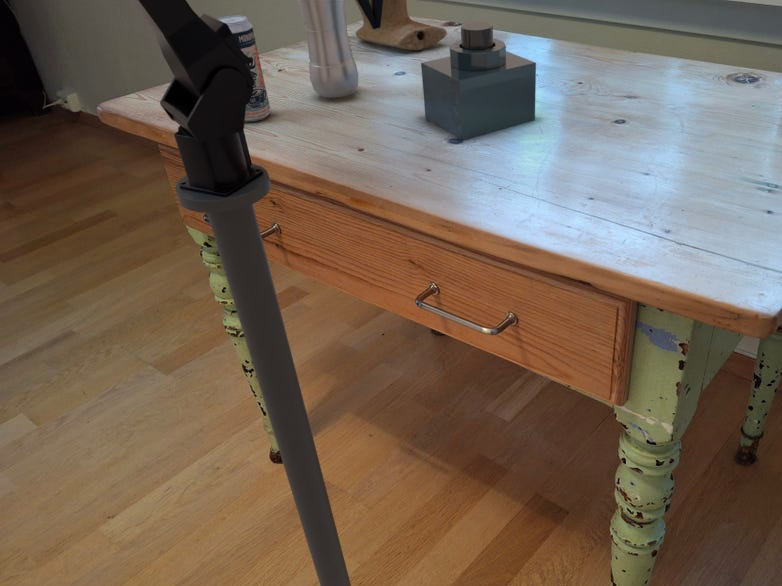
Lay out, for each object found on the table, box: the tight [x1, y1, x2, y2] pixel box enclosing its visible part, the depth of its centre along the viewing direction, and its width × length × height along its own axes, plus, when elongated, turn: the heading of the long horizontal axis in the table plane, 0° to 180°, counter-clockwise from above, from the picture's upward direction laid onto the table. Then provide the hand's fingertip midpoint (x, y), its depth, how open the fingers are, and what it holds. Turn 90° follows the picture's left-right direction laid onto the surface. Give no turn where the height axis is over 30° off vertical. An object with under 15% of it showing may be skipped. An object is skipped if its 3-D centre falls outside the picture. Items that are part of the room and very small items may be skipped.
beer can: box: [217, 14, 272, 123], centre depth 89 cm, size 5×5×12 cm
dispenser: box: [420, 38, 537, 141], centre depth 87 cm, size 11×9×9 cm
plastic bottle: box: [297, 0, 359, 98], centre depth 93 cm, size 6×7×20 cm
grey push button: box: [460, 21, 494, 51], centre depth 84 cm, size 4×4×2 cm
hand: (376, 27), depth 78 cm, fingers closed
